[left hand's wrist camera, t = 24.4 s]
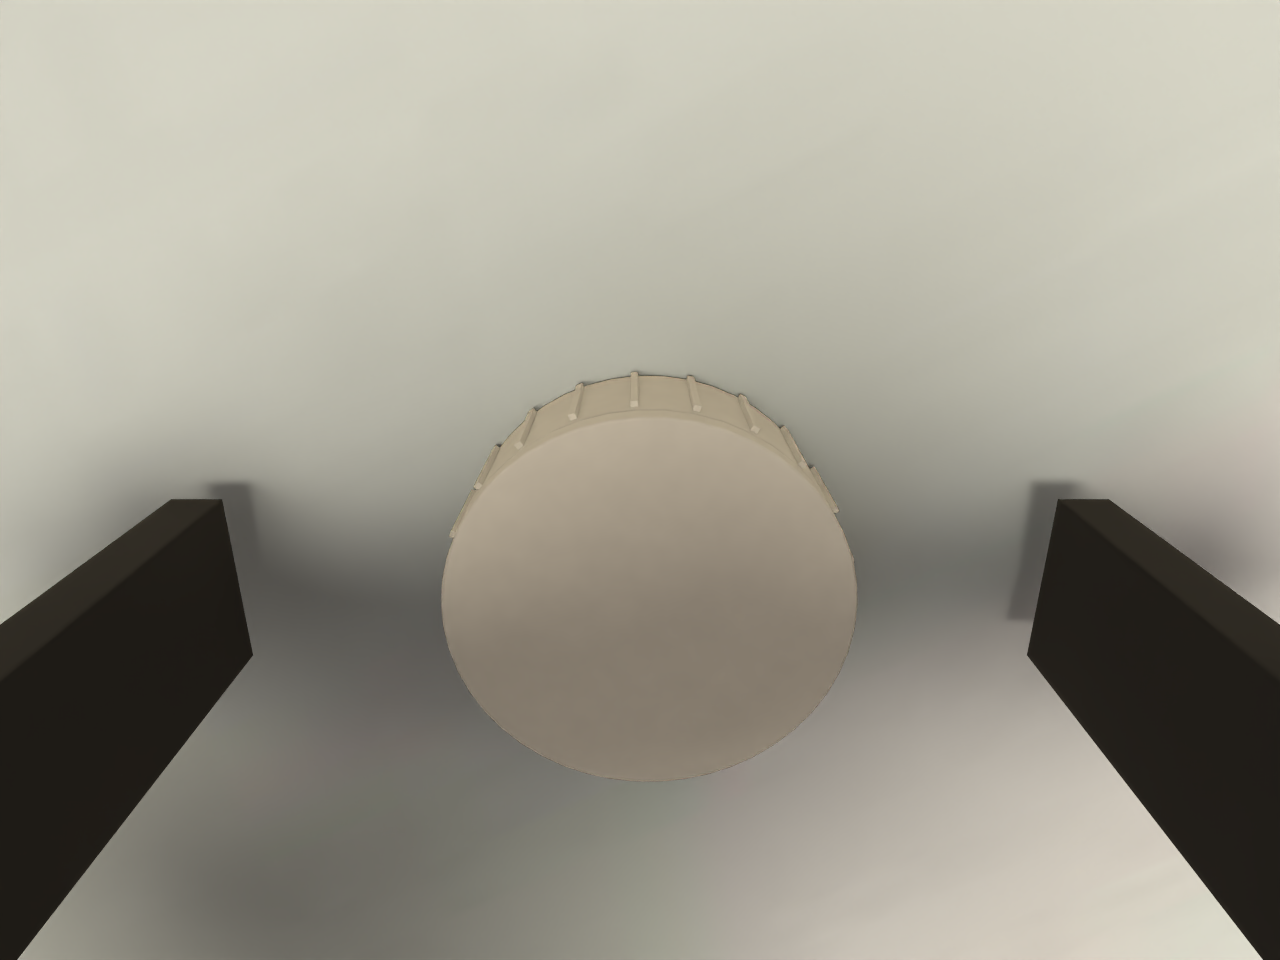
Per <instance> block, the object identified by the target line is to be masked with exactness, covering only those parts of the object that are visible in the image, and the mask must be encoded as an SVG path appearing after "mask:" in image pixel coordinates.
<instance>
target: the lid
mask: <svg viewBox="0 0 1280 960" xmlns="http://www.w3.org/2000/svg"><path fill="white" fill-rule="evenodd" d="M474 488H475V489H476V491H475V490H471V492H470V494H469V496H468V498H467V500H466V502H465V504H464V506H463V508H462V510H461V512H460V514H459V516H458V518H457V520H456V522H455V524H454V526H453V528H452V530H451V532H450V535H449V537H451V538H453V541H452V543H451V546H450V549H449V551H448V554H447V558H446V563H445V568H444V573H443V577H442V592H441V608H442V619H443V627H444V631H445V636H446V640H447V644H448V648H449V651H450V653H451V656H452V658H453V661H454V663H455V666H456V668H457V671H458V673H459V674H460V676H461V678H462V680H463V681H464V683H465V685H466V687H467V688H468V690H469V692H470V693H471V695H472V696H473V697H474V698H475V700H476V701H477V702H478V704H479V705H480V706H481V708H482V709H483V710H484V711H485V712H486V713H487V714H488V715H489V716H490V717H491V718H492V719H493V720H494V721H495V722H496V723H497V724H498V725H499V726H500V727H501V728H502V729H503V730H504V731H506V732H507V733H508V734H509V735H511V736H512V737H513V738H514V739H516V740H517V741H518V742H520V743H521V744H523V745H524V746H526V747H528V748H529V749H531V750H533V751H534V752H536V753H538V754H539V755H541V756H543V757H545V758H547V759H550V760H552V761H554V762H556V763H558V764H560V765H563V766H566V767H568V768H571V769H574V770H577V771H580V772H583V773H587V774H591V775H596V776H600V777H605V778H610V779H618V780H627V781H669V780H679V779H687V778H691V777H696V776H701V775H706V774H710V773H713V772H716V771H719V770H722V769H725V768H728V767H731V766H734V765H736V764H738V763H741V762H743V761H745V760H747V759H749V758H752V757H754V756H756V755H757V754H759V753H761V752H763V751H764V750H766V749H768V748H769V747H771V746H773V745H774V744H776V743H777V742H779V741H780V740H781V739H782V738H784V737H785V736H786V735H788V734H789V733H790V732H792V731H793V730H794V729H795V728H796V727H797V726H798V725H800V724H801V723H802V722H803V721H804V720H805V719H806V718H807V717H808V716H809V715H810V714H811V713H812V712H813V710H814V709H815V708H816V707H817V705H818V704H819V703H820V702H821V700H822V699H823V698H824V697H825V695H826V694H827V693H828V691H829V689H830V688H831V686H832V684H833V683H834V681H835V679H836V678H837V676H838V674H839V672H840V670H841V668H842V665H843V663H844V661H845V658H846V656H847V654H848V651H849V647H850V644H851V640H852V636H853V633H854V629H855V621H856V613H857V579H856V574H855V568H854V557H853V555H852V553H851V551H850V548H849V546H848V543H847V540H846V537H845V534H844V532H843V530H842V528H841V526H840V524H839V522H838V520H837V518H836V517H835V515H834V514H835V513H837V512H839V509H838V507H837V505H836V503H835V502H834V500H833V498H832V496H831V495H830V493H829V491H828V489H827V488H826V486H825V484H824V482H823V481H822V479H821V477H820V475H819V473H818V472H817V470H816V468H815V467H813V468H810V469H809V467H808V465H807V463H806V461H805V460H804V458H803V456H802V454H801V452H800V451H799V449H798V447H797V445H796V443H795V441H794V440H793V438H792V436H791V434H790V432H789V430H788V429H787V428H786V427H785V426H783V427H782V428H779V427H778V426H777V425H776V424H775V423H774V422H773V421H771V420H770V419H769V418H768V417H766V416H765V415H764V414H762V413H761V412H760V411H759V410H757V409H756V408H755V407H753V406H751V405H750V404H749V403H748V400H747V398H746V397H745V396H743V395H741V394H740V395H739V397H736V396H734V395H732V394H729V393H727V392H725V391H722V390H720V389H717V388H715V387H713V386H709V385H706V384H702V383H698V382H695V378H694V377H692V376H687V379H680V378H672V377H665V376H638V372H632V373H631V377H625V378H616V379H610V380H606V381H602V382H599V383H595V384H591V385H587V386H585V387H584V386H583V383H581V384H578V385H576V387H575V391H572V392H570V393H567V394H565V395H563V396H561V397H559V398H558V399H556V400H554V401H552V402H550V403H549V404H547V405H545V406H543V407H542V408H541V409H539V410H538V411H537V412H536V411H535V409H534V408H533V409H532V410H530V411H529V412H528V414H527V416H526V419H525V421H524V422H523V423H522V424H521V425H520V426H519V427H518V428H517V429H516V430H515V431H514V432H513V433H512V434H511V435H510V436H509V437H508V438H507V439H506V440H505V442H504V443H503V444H502V446H501V447H500V448H499V447H498V446H496V445H495V446H494V448H493V449H492V451H491V453H490V455H489V457H488V459H487V461H486V463H485V465H484V467H483V469H482V471H481V473H480V475H479V477H478V479H477V481H476V483H475V485H474Z"/></svg>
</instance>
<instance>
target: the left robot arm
mask: <svg viewBox="0 0 1280 960" xmlns="http://www.w3.org/2000/svg"><path fill="white" fill-rule="evenodd" d="M252 656H253V653H252V648H251V643H250V638H249V633H248V628H247V623H246V618H245V613H244V608H243V603H242V598H241V593H240V588H239V583H238V578H237V573H236V568H235V563H234V558H233V553H232V547H231V542H230V537H229V532H228V527H227V522H226V517H225V512H224V507H223V502H222V499H171V500H170V501H168V502H167V503H166V504H164V505H163V506H162V507H160V508H159V509H157V510H156V511H155V512H153V513H152V514H151V515H149V516H148V517H147V518H145V519H144V520H142V521H141V522H140V523H138V524H137V525H136V526H134V527H133V528H132V529H130V530H129V531H127V532H126V533H125V534H123V535H122V536H121V537H119V538H118V539H117V540H115V541H114V542H112V543H111V544H110V545H108V546H107V547H106V548H104V549H103V550H102V551H100V552H99V553H97V554H96V555H95V556H93V557H92V558H91V559H89V560H88V561H87V562H85V563H84V564H82V565H81V566H80V567H78V568H77V569H76V570H74V571H73V572H72V573H70V574H69V575H67V576H66V577H65V578H63V579H62V580H61V581H59V582H58V583H57V584H55V585H54V586H52V587H51V588H50V589H48V590H47V591H46V592H44V593H43V594H42V595H40V596H39V597H37V598H36V599H35V600H33V601H32V602H31V603H29V604H28V605H27V606H25V607H24V608H22V609H21V610H20V611H18V612H17V613H16V614H14V615H13V616H12V617H10V618H9V619H7V620H6V621H5V622H3V623H2V624H1V625H0V960H17V959H18V958H19V956H20V955H21V954H22V953H23V951H24V950H25V949H26V947H27V946H28V945H29V944H30V942H31V941H32V940H33V938H34V937H35V936H36V934H37V933H38V932H39V931H40V929H41V928H42V927H43V925H44V924H45V923H46V922H47V920H48V919H49V918H50V916H51V915H52V914H53V913H54V911H55V910H56V909H57V907H58V906H59V905H60V904H61V902H62V901H63V900H64V898H65V897H66V896H67V894H68V893H69V892H70V891H71V889H72V888H73V887H74V885H75V884H76V883H77V882H78V880H79V879H80V878H81V876H82V875H83V874H84V873H85V871H86V870H87V869H88V867H89V866H90V865H91V864H92V862H93V861H94V860H95V858H96V857H97V856H98V854H99V853H100V852H101V851H102V849H103V848H104V847H105V845H106V844H107V843H108V842H109V840H110V839H111V838H112V836H113V835H114V834H115V833H116V831H117V830H118V829H119V827H120V826H121V825H122V824H123V822H124V821H125V820H126V818H127V817H128V816H129V814H130V813H131V812H132V811H133V809H134V808H135V807H136V805H137V804H138V803H139V802H140V800H141V799H142V798H143V796H144V795H145V794H146V793H147V791H148V790H149V789H150V787H151V786H152V785H153V783H154V782H155V781H156V780H157V778H158V777H159V776H160V774H161V773H162V772H163V771H164V769H165V768H166V767H167V765H168V764H169V763H170V762H171V760H172V759H173V758H174V756H175V755H176V754H177V753H178V751H179V750H180V749H181V747H182V746H183V745H184V743H185V742H186V741H187V740H188V738H189V737H190V736H191V734H192V733H193V732H194V731H195V729H196V728H197V727H198V725H199V724H200V723H201V722H202V720H203V719H204V718H205V716H206V715H207V714H208V713H209V711H210V710H211V709H212V707H213V706H214V705H215V703H216V702H217V701H218V700H219V698H220V697H221V696H222V694H223V693H224V692H225V691H226V689H227V688H228V687H229V685H230V684H231V683H232V682H233V680H234V679H235V678H236V676H237V675H238V674H239V673H240V671H241V670H242V669H243V667H244V666H245V665H246V663H247V662H248V661H249V660H250V658H251V657H252ZM1027 656H1028V657H1029V658H1030V660H1031V661H1032V662H1033V663H1034V665H1035V666H1036V667H1037V669H1038V670H1039V671H1040V672H1041V674H1042V675H1043V676H1044V678H1045V679H1046V680H1047V682H1048V683H1049V684H1050V685H1051V687H1052V688H1053V689H1054V691H1055V692H1056V693H1057V694H1058V696H1059V697H1060V698H1061V700H1062V701H1063V702H1064V703H1065V705H1066V706H1067V707H1068V709H1069V710H1070V711H1071V712H1072V714H1073V715H1074V716H1075V718H1076V719H1077V720H1078V722H1079V723H1080V724H1081V725H1082V727H1083V728H1084V729H1085V731H1086V732H1087V733H1088V734H1089V736H1090V737H1091V738H1092V740H1093V741H1094V742H1095V743H1096V745H1097V746H1098V747H1099V749H1100V750H1101V751H1102V753H1103V754H1104V755H1105V756H1106V758H1107V759H1108V760H1109V762H1110V763H1111V764H1112V765H1113V767H1114V768H1115V769H1116V771H1117V772H1118V773H1119V774H1120V776H1121V777H1122V778H1123V780H1124V781H1125V782H1126V783H1127V785H1128V786H1129V787H1130V789H1131V790H1132V791H1133V793H1134V794H1135V795H1136V796H1137V798H1138V799H1139V800H1140V802H1141V803H1142V804H1143V805H1144V807H1145V808H1146V809H1147V811H1148V812H1149V813H1150V814H1151V816H1152V817H1153V818H1154V820H1155V821H1156V822H1157V823H1158V825H1159V826H1160V827H1161V829H1162V830H1163V831H1164V833H1165V834H1166V835H1167V836H1168V838H1169V839H1170V840H1171V842H1172V843H1173V844H1174V845H1175V847H1176V848H1177V849H1178V851H1179V852H1180V853H1181V854H1182V856H1183V857H1184V858H1185V860H1186V861H1187V862H1188V863H1189V865H1190V866H1191V867H1192V869H1193V870H1194V871H1195V873H1196V874H1197V875H1198V876H1199V878H1200V879H1201V880H1202V882H1203V883H1204V884H1205V885H1206V887H1207V888H1208V889H1209V891H1210V892H1211V893H1212V894H1213V896H1214V897H1215V898H1216V900H1217V901H1218V902H1219V903H1220V905H1221V906H1222V907H1223V909H1224V910H1225V911H1226V913H1227V914H1228V915H1229V916H1230V918H1231V919H1232V920H1233V922H1234V923H1235V924H1236V925H1237V927H1238V928H1239V929H1240V931H1241V932H1242V933H1243V934H1244V936H1245V937H1246V938H1247V940H1248V941H1249V942H1250V943H1251V945H1252V946H1253V947H1254V949H1255V950H1256V951H1257V953H1258V954H1259V955H1260V956H1261V958H1262V959H1263V960H1280V625H1279V624H1278V623H1277V622H1275V621H1274V620H1273V619H1271V618H1270V617H1268V616H1267V615H1266V614H1264V613H1263V612H1262V611H1260V610H1259V609H1258V608H1256V607H1255V606H1253V605H1252V604H1251V603H1249V602H1248V601H1247V600H1245V599H1244V598H1243V597H1241V596H1240V595H1238V594H1237V593H1236V592H1234V591H1233V590H1232V589H1230V588H1229V587H1228V586H1226V585H1225V584H1223V583H1222V582H1221V581H1219V580H1218V579H1217V578H1215V577H1214V576H1213V575H1211V574H1210V573H1208V572H1207V571H1206V570H1204V569H1203V568H1202V567H1200V566H1199V565H1198V564H1196V563H1195V562H1193V561H1192V560H1191V559H1189V558H1188V557H1187V556H1185V555H1184V554H1183V553H1181V552H1180V551H1178V550H1177V549H1176V548H1174V547H1173V546H1172V545H1170V544H1169V543H1168V542H1166V541H1165V540H1163V539H1162V538H1161V537H1159V536H1158V535H1157V534H1155V533H1154V532H1153V531H1151V530H1150V529H1148V528H1147V527H1146V526H1144V525H1143V524H1142V523H1140V522H1139V521H1138V520H1136V519H1135V518H1133V517H1132V516H1131V515H1129V514H1128V513H1127V512H1125V511H1124V510H1123V509H1121V508H1120V507H1118V506H1117V505H1116V504H1114V503H1113V502H1112V501H1110V500H1109V499H1058V502H1057V507H1056V512H1055V517H1054V522H1053V528H1052V533H1051V538H1050V543H1049V548H1048V553H1047V558H1046V563H1045V568H1044V573H1043V578H1042V583H1041V588H1040V593H1039V598H1038V603H1037V608H1036V613H1035V618H1034V623H1033V628H1032V633H1031V638H1030V643H1029V648H1028V653H1027Z"/></svg>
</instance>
